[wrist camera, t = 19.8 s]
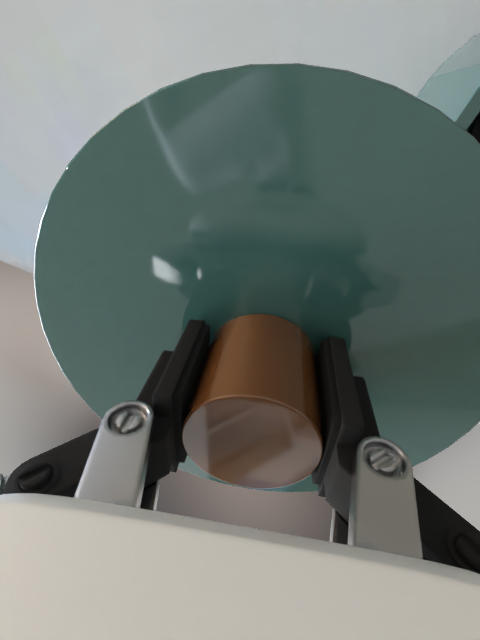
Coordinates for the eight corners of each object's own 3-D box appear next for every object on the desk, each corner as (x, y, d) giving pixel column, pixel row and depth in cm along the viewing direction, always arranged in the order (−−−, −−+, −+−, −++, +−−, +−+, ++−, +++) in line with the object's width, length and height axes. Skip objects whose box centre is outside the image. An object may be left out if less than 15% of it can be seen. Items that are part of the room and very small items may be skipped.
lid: (95, 443, 19) (37, 541, 15) (-14, 49, 9) (-280, -7, 5) (411, 494, 18) (450, 619, 13) (664, 92, 8) (1115, 67, 4)
